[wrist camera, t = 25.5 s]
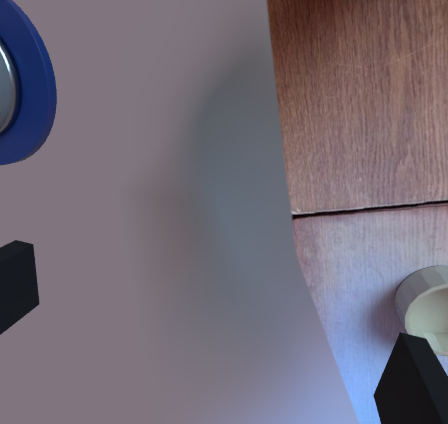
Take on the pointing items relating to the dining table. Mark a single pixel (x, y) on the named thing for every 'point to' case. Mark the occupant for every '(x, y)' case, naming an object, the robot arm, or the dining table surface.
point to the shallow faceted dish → (426, 306)
